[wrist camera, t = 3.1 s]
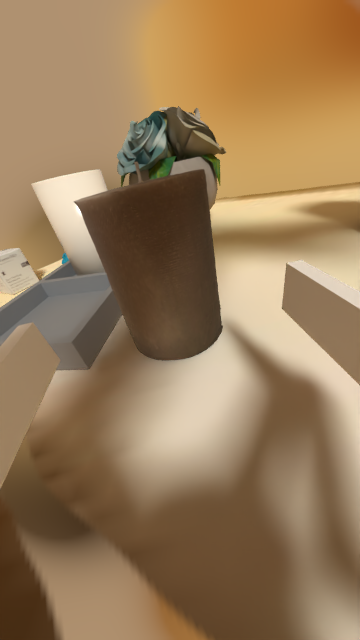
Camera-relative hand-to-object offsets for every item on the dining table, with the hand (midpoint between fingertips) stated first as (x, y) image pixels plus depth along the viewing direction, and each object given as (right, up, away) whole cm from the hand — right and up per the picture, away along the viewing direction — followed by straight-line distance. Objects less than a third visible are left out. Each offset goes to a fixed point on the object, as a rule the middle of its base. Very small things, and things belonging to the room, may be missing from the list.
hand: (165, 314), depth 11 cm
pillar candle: (0, -1, +12) cm, 12 cm away
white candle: (-13, +9, +29) cm, 33 cm away
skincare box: (-33, +7, +34) cm, 48 cm away
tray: (-14, +4, +23) cm, 27 cm away
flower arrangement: (+1, +24, +47) cm, 53 cm away
